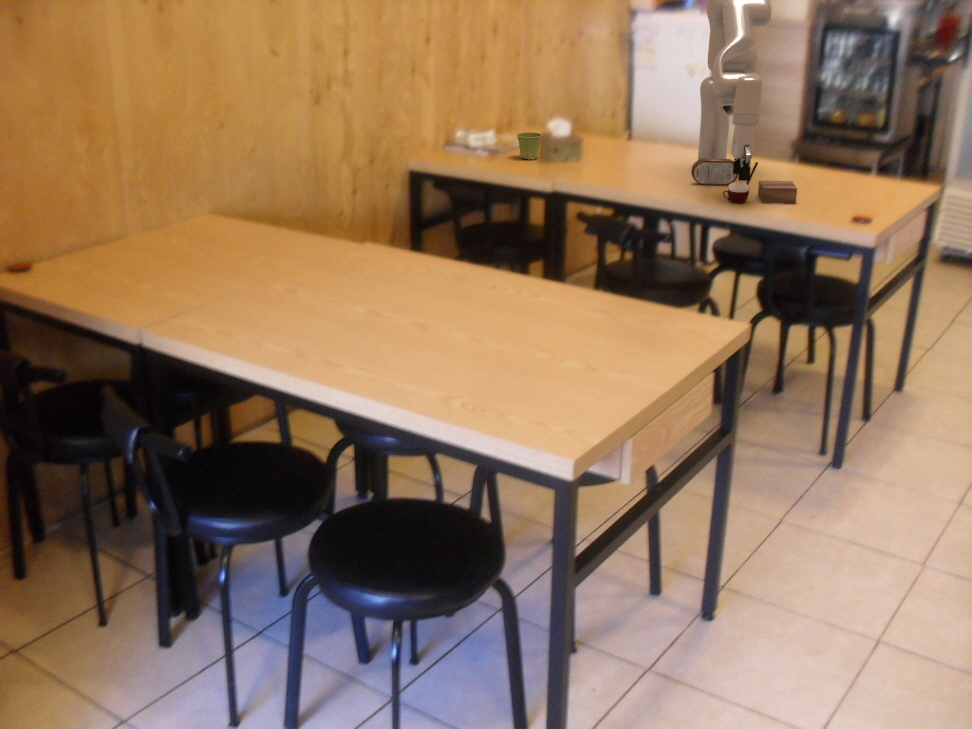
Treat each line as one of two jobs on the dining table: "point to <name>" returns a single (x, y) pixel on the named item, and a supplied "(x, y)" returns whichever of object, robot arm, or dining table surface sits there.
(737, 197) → the cocoa
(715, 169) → the tin
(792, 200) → the walnut block
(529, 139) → the plant pot
